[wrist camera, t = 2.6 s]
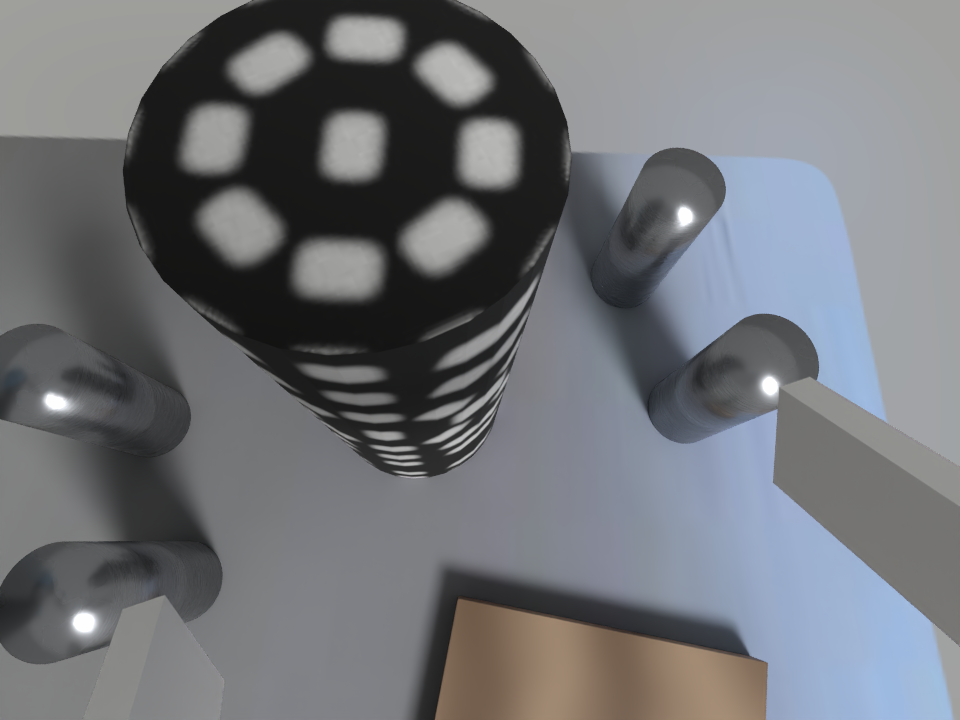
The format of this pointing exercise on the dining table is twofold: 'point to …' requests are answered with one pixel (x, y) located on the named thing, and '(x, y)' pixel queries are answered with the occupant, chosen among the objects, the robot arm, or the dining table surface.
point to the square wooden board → (587, 672)
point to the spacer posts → (166, 418)
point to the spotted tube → (358, 208)
